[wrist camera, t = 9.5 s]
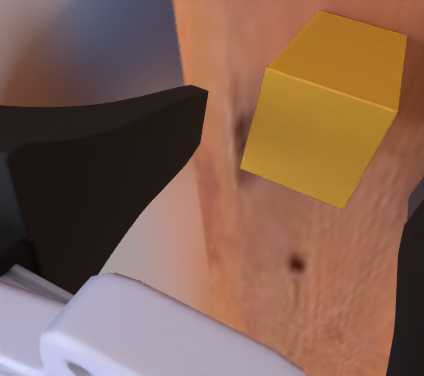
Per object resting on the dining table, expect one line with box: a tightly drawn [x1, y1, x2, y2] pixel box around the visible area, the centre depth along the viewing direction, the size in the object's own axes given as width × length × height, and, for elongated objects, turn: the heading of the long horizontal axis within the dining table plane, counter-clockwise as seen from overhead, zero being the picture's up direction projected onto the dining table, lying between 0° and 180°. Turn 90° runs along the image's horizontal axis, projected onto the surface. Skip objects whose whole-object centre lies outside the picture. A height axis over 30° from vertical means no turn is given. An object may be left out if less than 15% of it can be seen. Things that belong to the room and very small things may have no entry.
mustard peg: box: [240, 11, 407, 209], centre depth 15 cm, size 4×4×8 cm
